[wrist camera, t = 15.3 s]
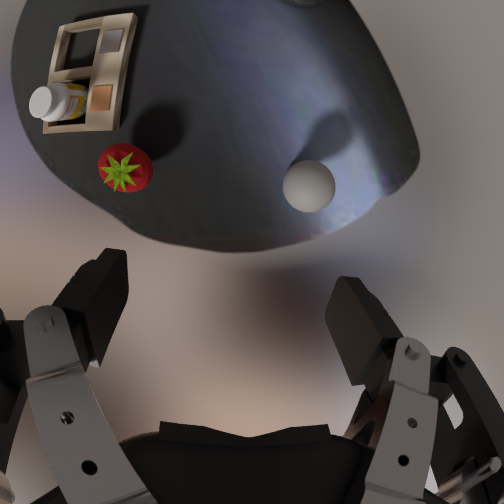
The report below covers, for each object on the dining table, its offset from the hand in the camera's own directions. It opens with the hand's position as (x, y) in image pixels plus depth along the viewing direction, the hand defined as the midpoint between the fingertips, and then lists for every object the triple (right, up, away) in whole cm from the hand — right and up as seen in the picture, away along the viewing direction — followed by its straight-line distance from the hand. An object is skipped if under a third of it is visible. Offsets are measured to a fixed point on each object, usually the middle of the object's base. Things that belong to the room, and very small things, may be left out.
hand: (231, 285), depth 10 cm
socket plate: (-23, +27, +18) cm, 39 cm away
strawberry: (-15, +14, +25) cm, 33 cm away
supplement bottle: (-25, +23, +20) cm, 39 cm away
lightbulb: (+7, +13, +28) cm, 31 cm away
